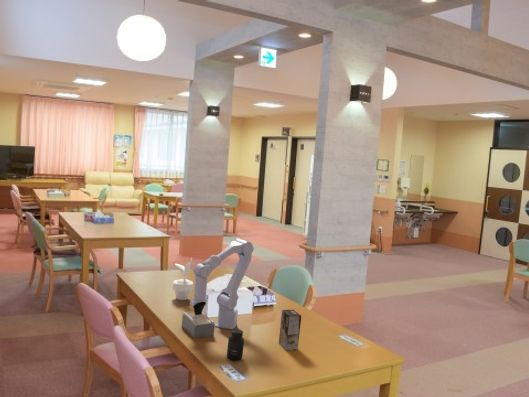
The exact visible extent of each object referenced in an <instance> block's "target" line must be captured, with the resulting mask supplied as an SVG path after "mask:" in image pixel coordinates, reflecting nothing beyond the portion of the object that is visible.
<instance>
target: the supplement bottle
mask: <svg viewBox="0 0 529 397" xmlns="http://www.w3.org/2000/svg"><path fill="white" fill-rule="evenodd" d="M243 334H244V331H243V329H239V328H238V329H237V328H234V329H231V333H230V336H229V337H228V340H227V349H226V359H227V360H229V361H231V362H240V361H242V360H243V355H244V354H243V353H244V347H245V338H244V335H243Z"/></svg>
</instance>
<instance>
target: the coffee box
mask: <svg viewBox="0 0 529 397" xmlns="http://www.w3.org/2000/svg"><path fill="white" fill-rule="evenodd" d="M280 318H281V319H280V326H279V334H278V335H279V337H278V338H279V339H278V344H279V345H280V346H281V347H282V348H283V349H284V350H285V351H294V350H293V349H299V344H300V343H299V341H300V334H301V333H300V332H301V323H302V315H301V314H300V313H299V312H297V311H296V310H295V309H282V310H281V317H280Z"/></svg>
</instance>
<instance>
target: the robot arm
mask: <svg viewBox="0 0 529 397" xmlns="http://www.w3.org/2000/svg"><path fill="white" fill-rule="evenodd" d="M253 245H254V244H253V243H252V242H251V241H248V240H244V239H242V238H239V237H238V238H236V239H234V240H232V241H231V242H230V244H229V245H228V246H227V247H225V249H223V250H222V251H221V252H219V253H218V254H213V255H212V254H211V255H210V257H208V258H207V259H206V260H205V261H202V263H197V264H196V265H195V267H194V269H193V268H192V269H193V274H194V286H193V297H192V299H191V300H190V301H189V306H191V307H193V311H194V314H195V315H201V313H202V312H203V310H204V308H205V306H206V305H207V302H208V300H209V294H207V287H208V286H207V285H208V278H209V277H210V275H211V273H212V271H214V270H215V269H216V268H218V267H219V266H221V264H222V262H223V261H224V260H225V259H227V258H229V257H230V256H232V255H233V254H237V255H238V261H237V264H236V266H235V268H234V271H233V272H232V275H231V277H230V280H229V282H228V284H227V286H226V287H225V288H223V289H222V290H221V291H220V293H219V294H218V295H217V298H216V302H217V304H218V314H217V322H216V323H215V327H216V328H221V329H222V328H223V329H226V330H227V329H228V330H233V329H236V326H237V325H238V323H237V322H238V314H239V313H238V312H239V311H238V309H235V308H237V305H238V299H239V296H238V290H239V288H240V286H241V283H242V281H243V279H244V277H245V274H246V272H247V270H248V267H249V265H250V263H251V261H252V257H253V256H252V254H253V252H254V250H255V247H254V246H253ZM215 327H214V328H215Z"/></svg>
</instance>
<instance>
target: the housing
mask: <svg viewBox="0 0 529 397" xmlns="http://www.w3.org/2000/svg"><path fill="white" fill-rule="evenodd" d="M201 314H205V313H204V312H203V311H202V313H201ZM192 315H195V313H187V312H186V311H183V314H182V315H181V316H182V318H181V327H182V328H183V329H184V330H185V331H186V332H187V333H188V334H189V335H190V336H191V337H192V338H193V339H197V338H198V339H199V338H200V339H201V338H209V337H214V336H215V335H214V334H215V325H216V323H215V321H214V320H213V319H211V318H210V317H209V316H208V315H207V318H208V319H209V320H210V321H211V322H212V324H204V325H197V322H196V321H194V320H193V319H192Z"/></svg>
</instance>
